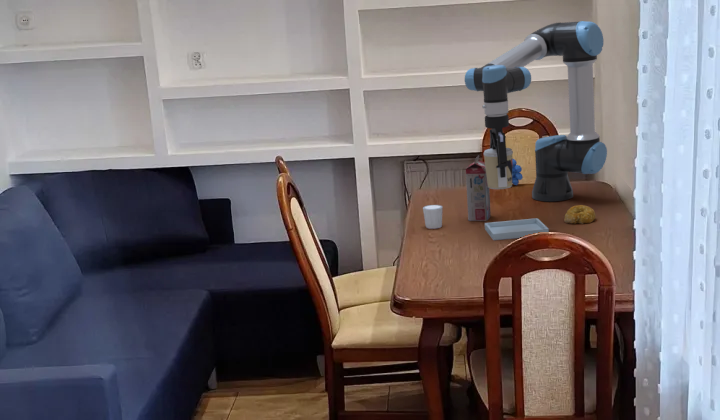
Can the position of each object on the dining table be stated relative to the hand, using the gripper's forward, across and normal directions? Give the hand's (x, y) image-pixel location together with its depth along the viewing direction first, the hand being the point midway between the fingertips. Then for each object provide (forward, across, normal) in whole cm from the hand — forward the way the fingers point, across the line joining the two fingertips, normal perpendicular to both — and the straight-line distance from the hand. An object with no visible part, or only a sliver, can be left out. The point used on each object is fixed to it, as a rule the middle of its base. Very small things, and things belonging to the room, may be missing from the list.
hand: (500, 183), depth 275 cm
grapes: (+18, -68, +16) cm, 72 cm away
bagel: (+17, -7, +27) cm, 33 cm away
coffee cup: (+1, 0, 0) cm, 1 cm away
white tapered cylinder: (+17, -15, -21) cm, 31 cm away
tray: (+17, 0, +4) cm, 17 cm away
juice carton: (+17, -21, -4) cm, 27 cm away
